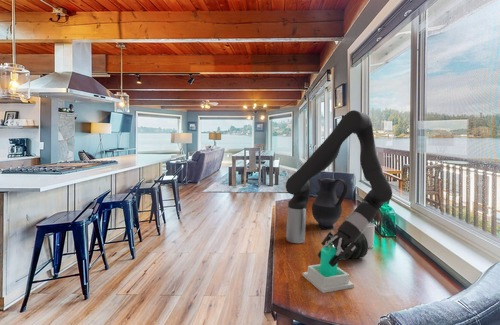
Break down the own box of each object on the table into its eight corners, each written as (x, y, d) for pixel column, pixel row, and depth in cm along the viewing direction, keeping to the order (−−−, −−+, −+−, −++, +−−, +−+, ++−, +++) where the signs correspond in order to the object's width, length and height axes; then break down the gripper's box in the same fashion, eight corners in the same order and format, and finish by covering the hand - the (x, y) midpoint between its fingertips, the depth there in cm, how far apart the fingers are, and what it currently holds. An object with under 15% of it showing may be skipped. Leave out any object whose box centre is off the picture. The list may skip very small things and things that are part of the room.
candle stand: (302, 275, 110) (303, 264, 109) (331, 271, 114) (331, 260, 114) (322, 293, 98) (323, 281, 97) (353, 287, 102) (354, 275, 102)
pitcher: (322, 221, 185) (325, 174, 182) (352, 230, 169) (355, 179, 167) (305, 225, 174) (307, 176, 171) (334, 235, 158) (338, 181, 155)
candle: (323, 272, 110) (325, 241, 109) (339, 277, 107) (341, 246, 106) (316, 277, 106) (318, 246, 105) (332, 283, 102) (334, 250, 101)
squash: (321, 241, 133) (343, 222, 124) (340, 236, 142) (361, 218, 134) (340, 269, 125) (364, 251, 117) (358, 262, 135) (381, 245, 127)
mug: (373, 250, 139) (375, 227, 138) (354, 247, 142) (355, 224, 141) (372, 242, 150) (373, 221, 149) (354, 239, 153) (355, 218, 152)
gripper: (335, 215, 114) (308, 247, 110) (361, 226, 100) (331, 263, 97) (346, 227, 116) (319, 259, 113) (372, 239, 103) (343, 276, 99)
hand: (325, 260), depth 105 cm, fingers open, 6 cm apart
